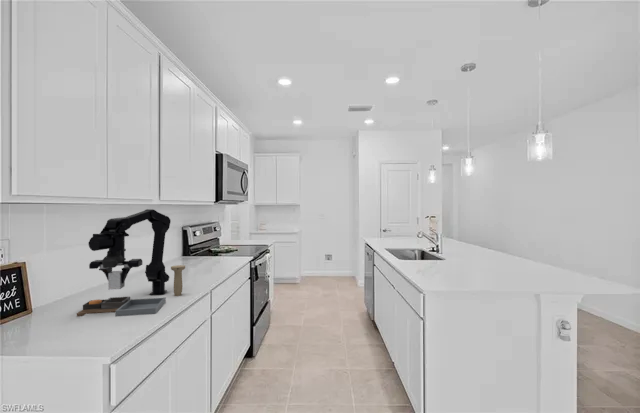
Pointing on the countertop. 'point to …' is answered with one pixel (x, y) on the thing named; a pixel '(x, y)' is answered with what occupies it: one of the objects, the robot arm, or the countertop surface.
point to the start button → (95, 302)
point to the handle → (178, 279)
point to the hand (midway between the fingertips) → (116, 283)
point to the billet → (115, 280)
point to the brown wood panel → (104, 306)
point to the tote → (140, 307)
